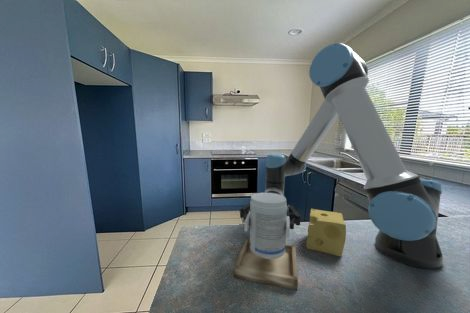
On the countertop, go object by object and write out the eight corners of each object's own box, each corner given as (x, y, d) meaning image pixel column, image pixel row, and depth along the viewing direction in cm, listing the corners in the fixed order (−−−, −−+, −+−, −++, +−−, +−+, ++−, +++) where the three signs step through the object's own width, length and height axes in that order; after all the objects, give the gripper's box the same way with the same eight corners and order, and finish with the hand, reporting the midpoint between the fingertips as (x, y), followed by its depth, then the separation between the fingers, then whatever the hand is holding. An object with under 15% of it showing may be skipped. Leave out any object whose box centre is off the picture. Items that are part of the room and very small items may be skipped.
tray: (294, 252, 58) (295, 244, 57) (297, 290, 43) (297, 279, 43) (246, 245, 61) (246, 237, 61) (233, 277, 47) (234, 267, 47)
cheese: (305, 249, 60) (307, 218, 59) (308, 233, 69) (310, 207, 69) (344, 258, 55) (346, 225, 54) (341, 240, 65) (343, 212, 64)
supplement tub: (292, 253, 51) (295, 199, 49) (266, 266, 46) (268, 206, 44) (267, 237, 59) (269, 190, 57) (242, 246, 54) (243, 195, 52)
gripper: (304, 214, 66) (313, 251, 45) (242, 207, 72) (223, 236, 50) (306, 193, 65) (315, 220, 44) (242, 187, 71) (223, 209, 50)
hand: (266, 229), depth 47 cm, fingers closed on supplement tub, 9 cm apart
